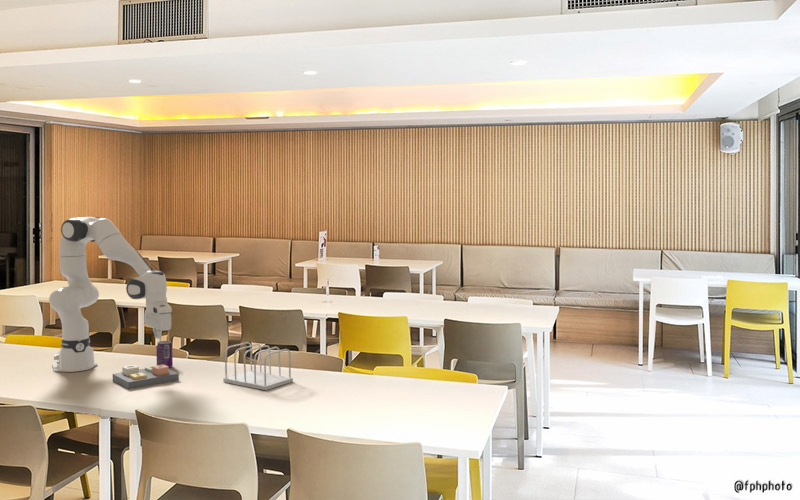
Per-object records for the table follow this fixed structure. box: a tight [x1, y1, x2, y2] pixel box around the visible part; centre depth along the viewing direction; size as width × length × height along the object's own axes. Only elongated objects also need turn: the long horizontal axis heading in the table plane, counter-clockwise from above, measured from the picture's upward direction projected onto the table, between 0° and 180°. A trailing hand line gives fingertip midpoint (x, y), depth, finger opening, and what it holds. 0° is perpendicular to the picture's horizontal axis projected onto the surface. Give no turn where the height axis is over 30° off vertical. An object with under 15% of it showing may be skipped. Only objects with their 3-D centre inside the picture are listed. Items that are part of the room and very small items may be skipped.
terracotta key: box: [151, 365, 170, 376], centre depth 297 cm, size 5×5×3 cm
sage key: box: [144, 365, 152, 372], centre depth 303 cm, size 5×5×3 cm
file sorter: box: [223, 341, 294, 391], centre depth 296 cm, size 25×17×16 cm
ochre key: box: [130, 373, 146, 380], centre depth 291 cm, size 5×5×3 cm
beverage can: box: [156, 340, 174, 369], centre depth 320 cm, size 7×7×12 cm
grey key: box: [121, 364, 140, 376], centre depth 296 cm, size 5×5×3 cm
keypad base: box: [112, 368, 180, 390], centre depth 297 cm, size 18×22×3 cm
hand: (157, 338), depth 299 cm, fingers closed
